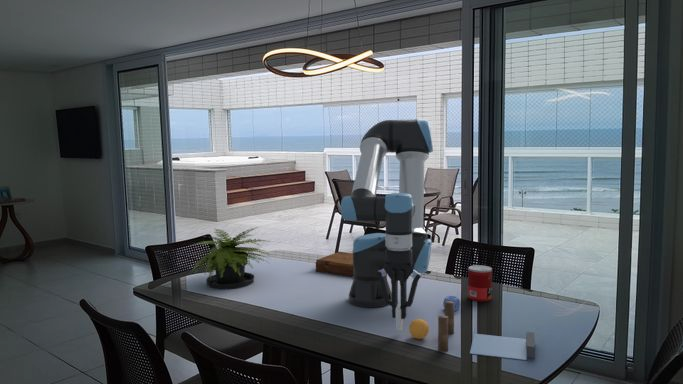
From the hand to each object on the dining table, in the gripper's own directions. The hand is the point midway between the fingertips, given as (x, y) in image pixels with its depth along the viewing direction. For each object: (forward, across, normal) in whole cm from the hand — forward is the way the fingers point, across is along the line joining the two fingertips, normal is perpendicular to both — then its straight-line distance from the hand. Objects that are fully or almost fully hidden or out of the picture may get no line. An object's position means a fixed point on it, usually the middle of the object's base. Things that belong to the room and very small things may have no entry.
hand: (399, 329), depth 148 cm
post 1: (+2, +13, -6) cm, 15 cm away
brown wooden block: (+3, -37, +66) cm, 76 cm away
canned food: (+2, +19, +42) cm, 46 cm away
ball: (-1, +6, 0) cm, 6 cm away
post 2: (+2, +13, +7) cm, 15 cm away
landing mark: (+2, +27, 0) cm, 27 cm away
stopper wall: (+2, +35, +1) cm, 35 cm away
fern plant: (+2, -77, +35) cm, 84 cm away
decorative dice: (+2, +11, +27) cm, 30 cm away
